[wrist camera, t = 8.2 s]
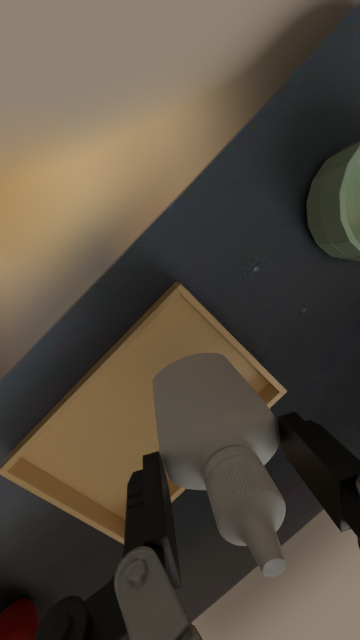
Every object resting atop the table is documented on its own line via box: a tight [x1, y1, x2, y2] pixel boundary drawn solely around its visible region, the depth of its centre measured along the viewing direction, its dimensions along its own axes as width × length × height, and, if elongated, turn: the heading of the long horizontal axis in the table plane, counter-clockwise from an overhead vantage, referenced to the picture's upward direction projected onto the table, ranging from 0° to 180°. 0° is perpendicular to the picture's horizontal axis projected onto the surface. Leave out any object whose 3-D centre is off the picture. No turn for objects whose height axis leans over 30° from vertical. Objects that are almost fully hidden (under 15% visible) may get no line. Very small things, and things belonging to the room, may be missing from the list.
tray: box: [0, 281, 287, 544], centre depth 25 cm, size 23×15×3 cm, turn 135°
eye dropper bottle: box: [152, 353, 286, 577], centre depth 13 cm, size 4×6×12 cm
